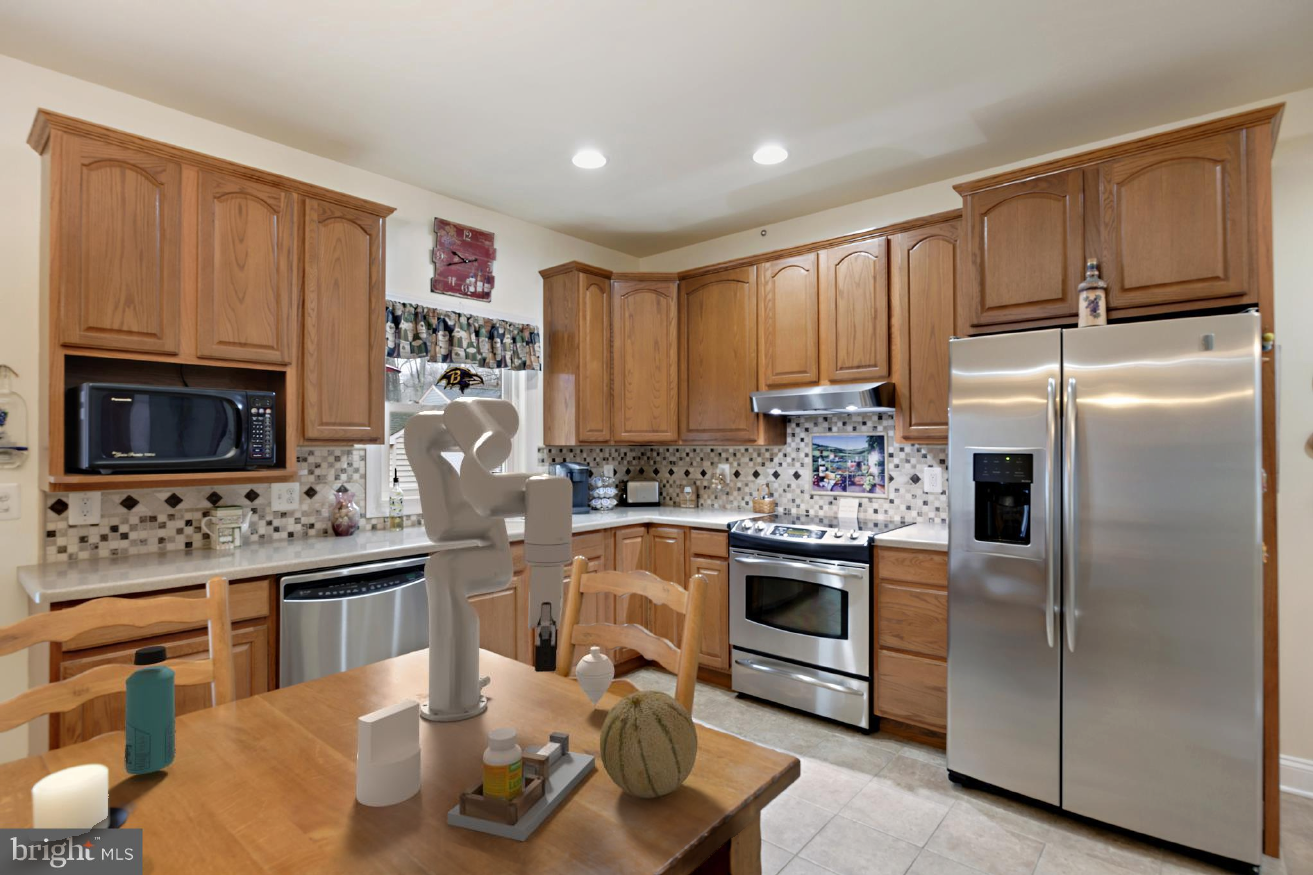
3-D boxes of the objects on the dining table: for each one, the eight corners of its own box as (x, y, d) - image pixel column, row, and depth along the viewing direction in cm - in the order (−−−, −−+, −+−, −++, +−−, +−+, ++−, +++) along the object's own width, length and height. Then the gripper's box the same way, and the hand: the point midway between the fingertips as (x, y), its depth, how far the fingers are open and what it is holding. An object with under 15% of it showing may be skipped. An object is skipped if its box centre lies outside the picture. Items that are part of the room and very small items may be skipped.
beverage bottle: (185, 768, 106) (187, 643, 106) (141, 788, 99) (143, 655, 100) (157, 762, 108) (159, 639, 108) (112, 781, 101) (114, 651, 102)
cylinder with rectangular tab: (381, 813, 93) (382, 727, 93) (343, 795, 97) (344, 714, 98) (433, 785, 100) (433, 706, 101) (395, 770, 105) (396, 694, 105)
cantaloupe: (711, 778, 102) (711, 682, 103) (675, 828, 89) (675, 716, 89) (626, 760, 108) (626, 669, 109) (581, 804, 95) (581, 699, 95)
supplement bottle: (513, 814, 89) (513, 742, 90) (476, 811, 90) (476, 740, 90) (527, 794, 95) (527, 726, 95) (492, 791, 96) (492, 724, 96)
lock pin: (553, 748, 109) (553, 731, 109) (568, 751, 108) (568, 734, 108) (521, 777, 99) (521, 758, 99) (537, 780, 98) (537, 761, 98)
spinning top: (568, 712, 128) (568, 650, 128) (587, 698, 135) (587, 640, 135) (603, 718, 125) (603, 655, 125) (620, 704, 132) (620, 644, 133)
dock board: (530, 753, 111) (530, 724, 111) (594, 765, 107) (595, 734, 107) (447, 823, 90) (447, 787, 90) (523, 841, 86) (523, 803, 86)
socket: (494, 784, 98) (494, 767, 98) (545, 794, 95) (545, 776, 95) (459, 814, 90) (459, 795, 90) (513, 826, 87) (513, 807, 87)
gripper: (527, 544, 113) (526, 644, 113) (520, 563, 96) (518, 680, 95) (571, 544, 114) (570, 642, 114) (571, 562, 97) (570, 679, 96)
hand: (546, 660), depth 105 cm, fingers open, 9 cm apart
